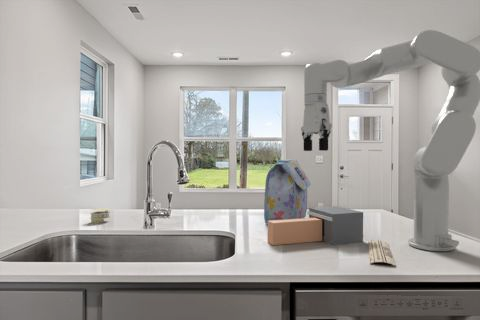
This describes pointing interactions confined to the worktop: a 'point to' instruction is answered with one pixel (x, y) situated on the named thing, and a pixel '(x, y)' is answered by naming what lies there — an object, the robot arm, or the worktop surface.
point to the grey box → (339, 224)
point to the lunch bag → (285, 192)
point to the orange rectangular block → (294, 231)
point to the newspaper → (380, 252)
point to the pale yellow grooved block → (99, 215)
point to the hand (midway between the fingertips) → (315, 150)
